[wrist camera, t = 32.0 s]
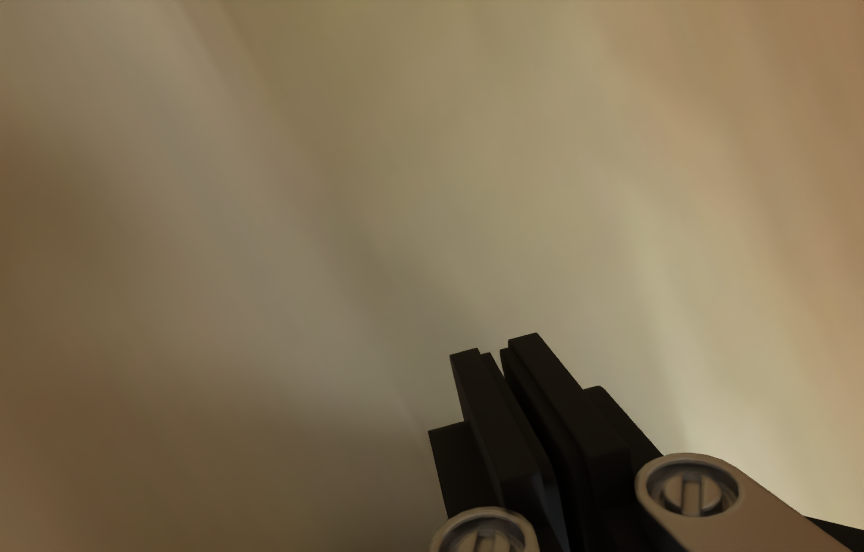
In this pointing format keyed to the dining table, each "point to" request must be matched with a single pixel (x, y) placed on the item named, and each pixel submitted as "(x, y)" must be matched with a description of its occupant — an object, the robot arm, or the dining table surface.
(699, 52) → the dining table surface
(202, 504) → the dining table surface
